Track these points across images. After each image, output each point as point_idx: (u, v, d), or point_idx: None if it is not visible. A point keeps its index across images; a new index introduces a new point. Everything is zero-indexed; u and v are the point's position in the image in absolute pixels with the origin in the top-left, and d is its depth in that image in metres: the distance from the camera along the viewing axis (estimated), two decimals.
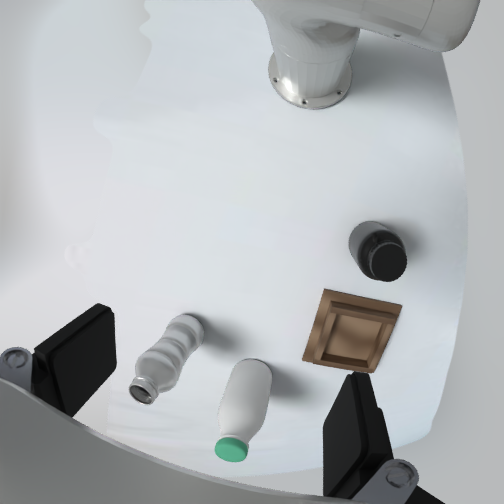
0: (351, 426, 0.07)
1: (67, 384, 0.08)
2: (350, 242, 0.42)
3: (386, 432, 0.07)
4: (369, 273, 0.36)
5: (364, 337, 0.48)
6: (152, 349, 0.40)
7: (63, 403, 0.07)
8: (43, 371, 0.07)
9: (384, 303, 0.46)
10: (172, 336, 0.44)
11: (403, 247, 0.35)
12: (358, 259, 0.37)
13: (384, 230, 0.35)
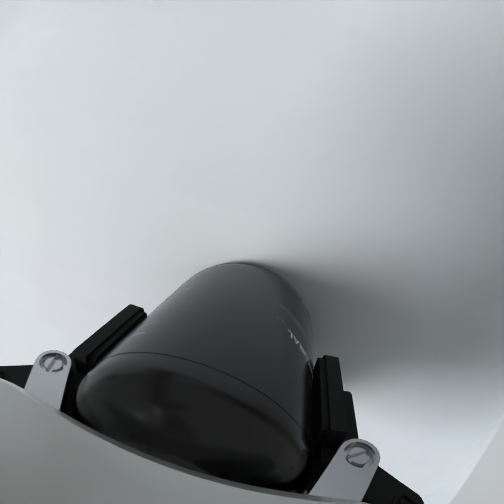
0: (316, 406, 0.08)
1: None
2: None
3: (353, 414, 0.08)
4: None
5: None
6: None
7: None
8: (81, 373, 0.08)
9: None
10: None
11: (286, 470, 0.05)
12: None
13: (156, 373, 0.05)
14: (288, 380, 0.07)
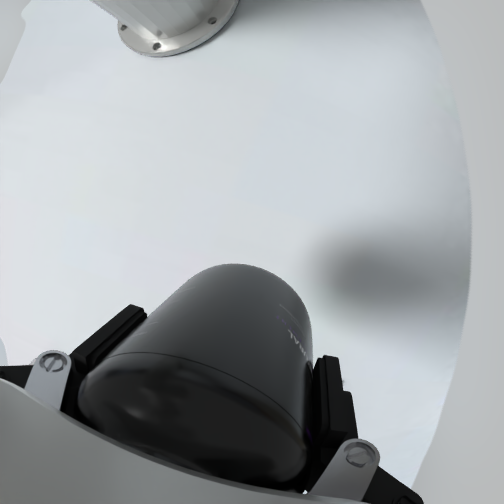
0: (316, 406, 0.08)
1: None
2: None
3: (353, 414, 0.08)
4: None
5: None
6: None
7: None
8: (81, 373, 0.08)
9: None
10: None
11: (286, 470, 0.05)
12: None
13: (157, 373, 0.05)
14: (288, 380, 0.07)
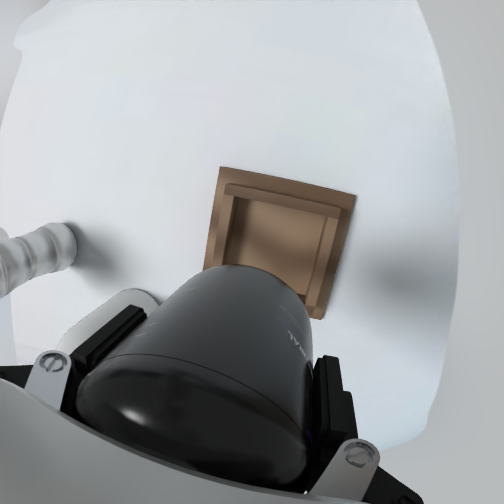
0: (316, 406, 0.08)
1: None
2: None
3: (353, 414, 0.08)
4: None
5: (295, 250, 0.31)
6: None
7: None
8: (81, 373, 0.08)
9: (322, 188, 0.29)
10: (23, 236, 0.28)
11: (286, 472, 0.05)
12: None
13: (155, 375, 0.05)
14: (288, 382, 0.07)
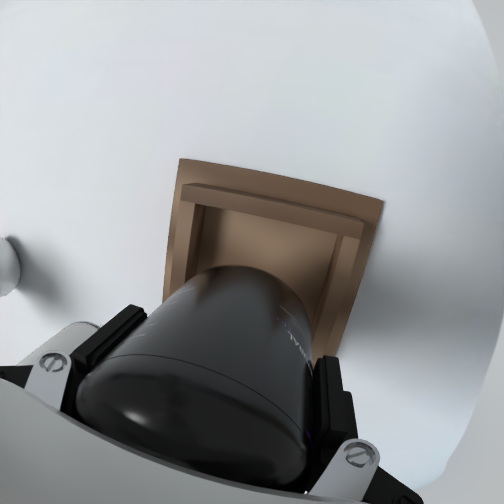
0: (316, 406, 0.08)
1: None
2: None
3: (353, 414, 0.08)
4: None
5: (292, 283, 0.21)
6: None
7: None
8: (81, 373, 0.08)
9: (334, 190, 0.19)
10: None
11: (285, 473, 0.05)
12: None
13: (155, 375, 0.05)
14: (288, 382, 0.07)
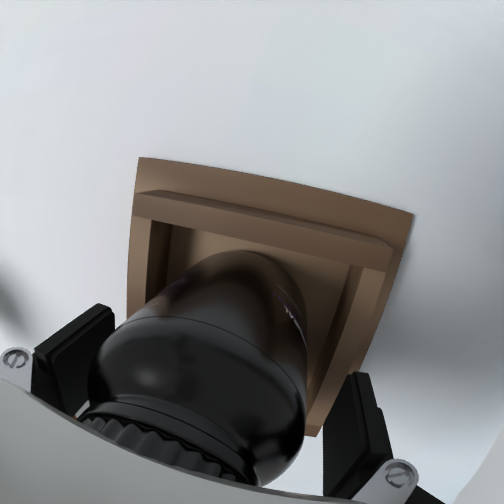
0: (351, 426, 0.07)
1: (67, 384, 0.08)
2: None
3: (386, 432, 0.07)
4: None
5: None
6: None
7: (63, 403, 0.07)
8: (43, 371, 0.07)
9: (348, 199, 0.13)
10: None
11: (282, 422, 0.06)
12: None
13: (170, 331, 0.07)
14: (283, 344, 0.08)
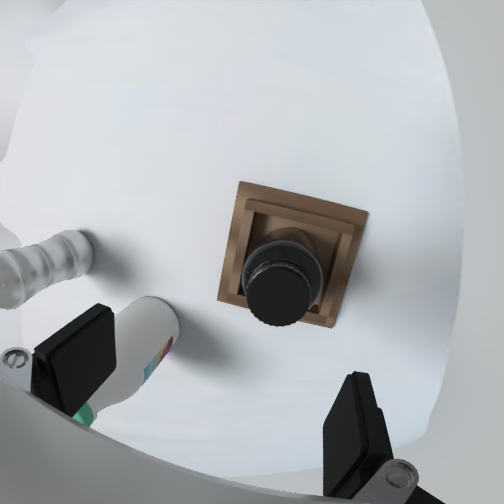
0: (351, 426, 0.07)
1: (67, 384, 0.08)
2: None
3: (386, 432, 0.07)
4: None
5: None
6: (5, 250, 0.24)
7: (63, 403, 0.07)
8: (43, 371, 0.07)
9: (337, 205, 0.31)
10: (40, 244, 0.29)
11: (316, 269, 0.23)
12: (243, 286, 0.25)
13: (284, 242, 0.24)
14: (314, 252, 0.25)
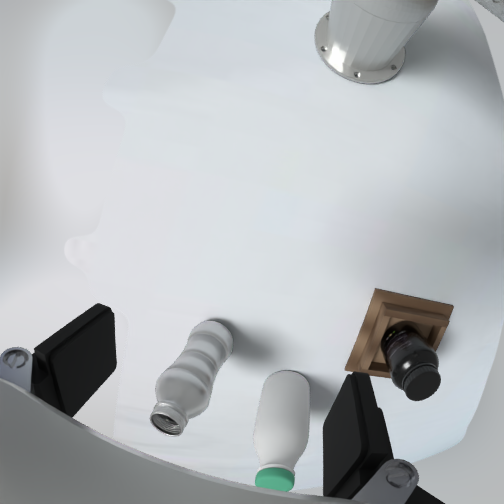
0: (351, 426, 0.07)
1: (67, 384, 0.08)
2: (383, 345, 0.38)
3: (386, 432, 0.07)
4: (401, 387, 0.32)
5: None
6: (177, 366, 0.32)
7: (63, 403, 0.07)
8: (43, 371, 0.07)
9: (437, 304, 0.38)
10: (199, 348, 0.36)
11: (437, 363, 0.31)
12: (393, 375, 0.32)
13: (422, 349, 0.31)
14: None
